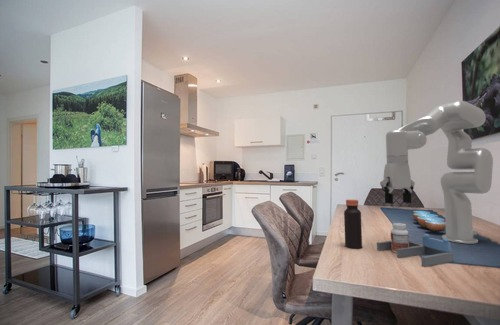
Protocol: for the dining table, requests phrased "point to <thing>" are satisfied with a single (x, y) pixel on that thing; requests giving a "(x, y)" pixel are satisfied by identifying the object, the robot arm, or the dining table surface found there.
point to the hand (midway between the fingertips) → (398, 202)
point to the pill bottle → (399, 237)
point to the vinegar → (352, 225)
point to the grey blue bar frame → (424, 250)
